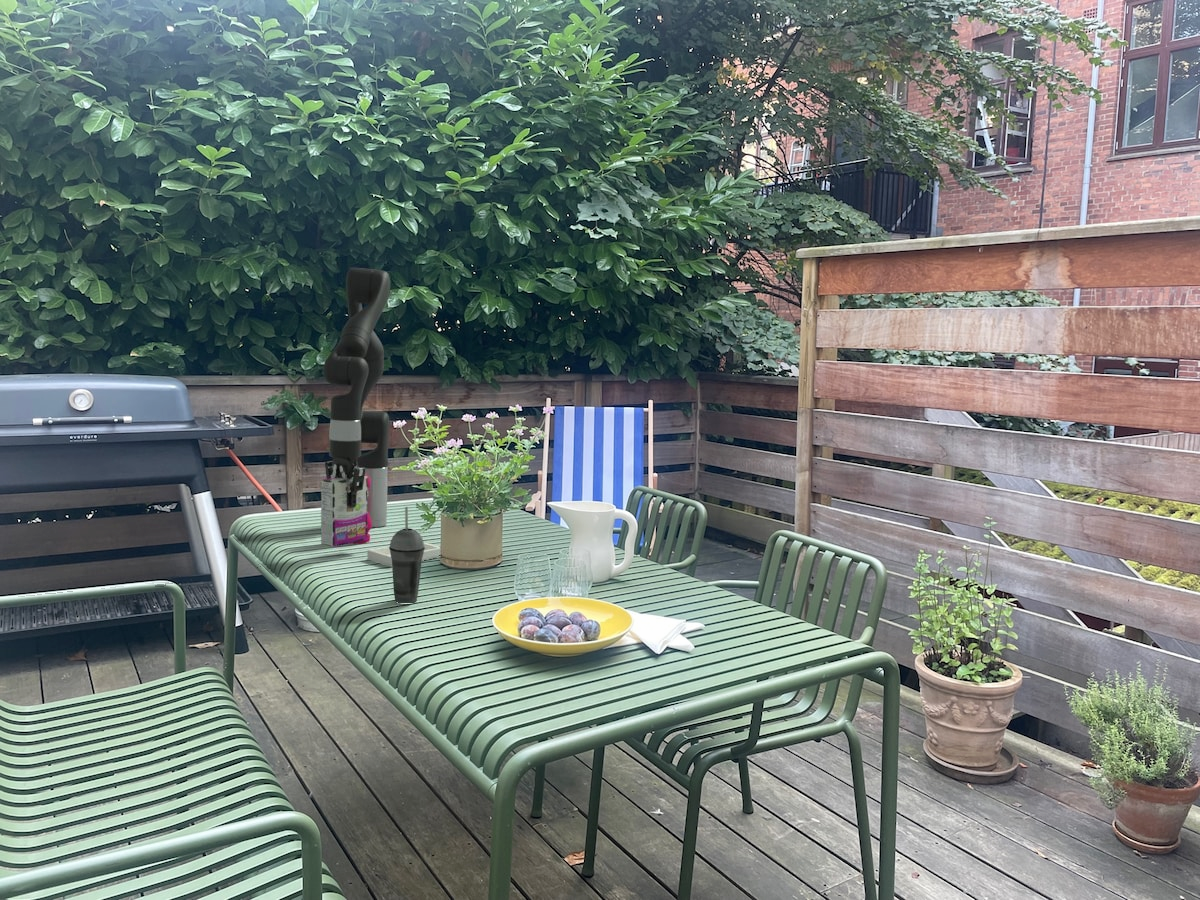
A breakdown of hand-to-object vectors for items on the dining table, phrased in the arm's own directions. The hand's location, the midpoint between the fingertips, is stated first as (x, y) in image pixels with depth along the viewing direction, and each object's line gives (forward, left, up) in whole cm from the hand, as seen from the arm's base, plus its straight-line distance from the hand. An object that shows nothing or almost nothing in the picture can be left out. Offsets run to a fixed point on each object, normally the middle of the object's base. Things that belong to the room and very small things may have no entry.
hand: (344, 504), depth 220 cm
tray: (+12, +10, -13) cm, 20 cm away
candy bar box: (0, 0, -10) cm, 10 cm away
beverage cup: (+41, -13, -13) cm, 45 cm away
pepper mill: (-11, +12, -13) cm, 21 cm away
